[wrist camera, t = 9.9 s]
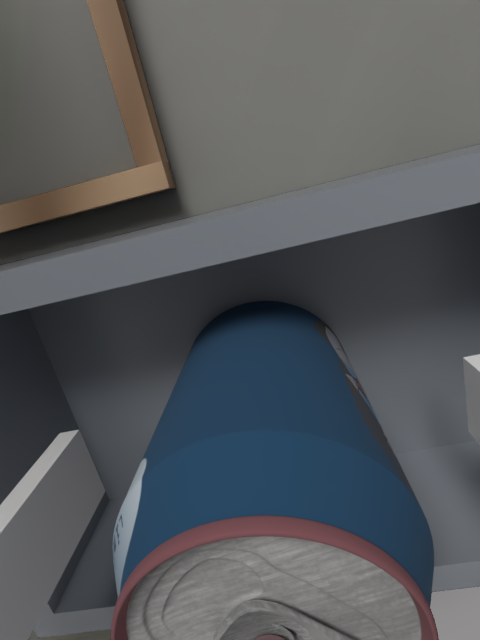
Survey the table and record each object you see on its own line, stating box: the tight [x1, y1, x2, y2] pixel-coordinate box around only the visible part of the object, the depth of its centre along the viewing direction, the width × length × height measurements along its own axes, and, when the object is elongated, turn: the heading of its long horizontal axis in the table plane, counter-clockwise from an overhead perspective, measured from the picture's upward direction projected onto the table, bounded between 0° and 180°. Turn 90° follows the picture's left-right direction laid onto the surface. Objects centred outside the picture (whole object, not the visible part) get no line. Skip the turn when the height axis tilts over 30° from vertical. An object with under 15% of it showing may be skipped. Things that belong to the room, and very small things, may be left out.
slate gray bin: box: [0, 144, 480, 638], centre depth 16 cm, size 22×14×7 cm, turn 104°
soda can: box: [111, 301, 439, 640], centre depth 13 cm, size 7×7×12 cm
